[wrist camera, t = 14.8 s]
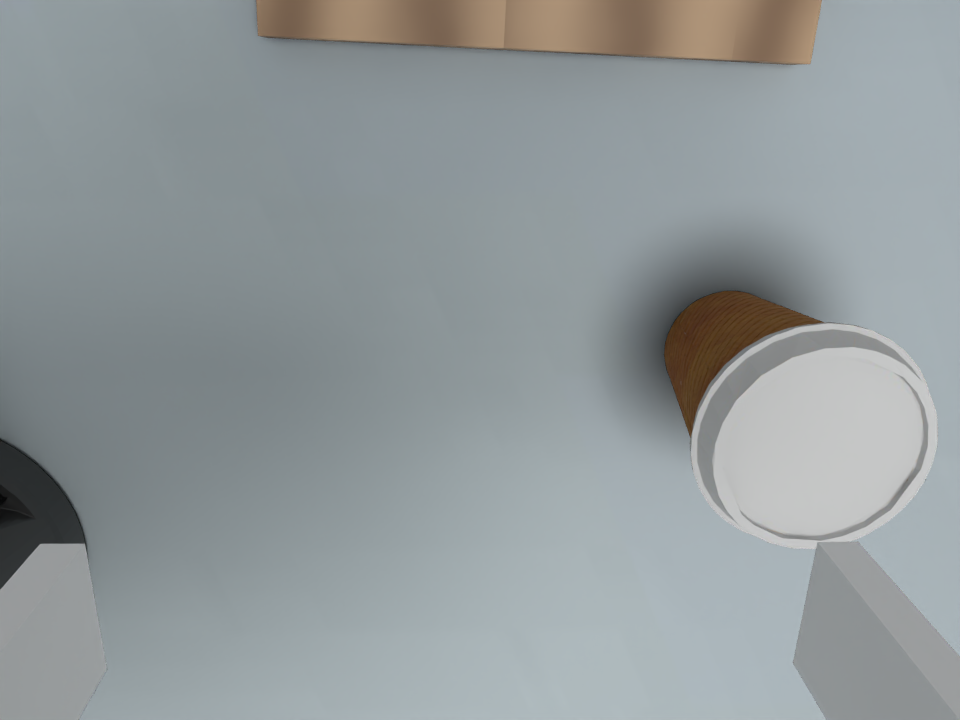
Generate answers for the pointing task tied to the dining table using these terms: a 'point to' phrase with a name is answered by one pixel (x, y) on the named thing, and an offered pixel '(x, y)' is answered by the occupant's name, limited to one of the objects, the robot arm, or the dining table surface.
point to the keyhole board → (562, 26)
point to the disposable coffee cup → (798, 419)
